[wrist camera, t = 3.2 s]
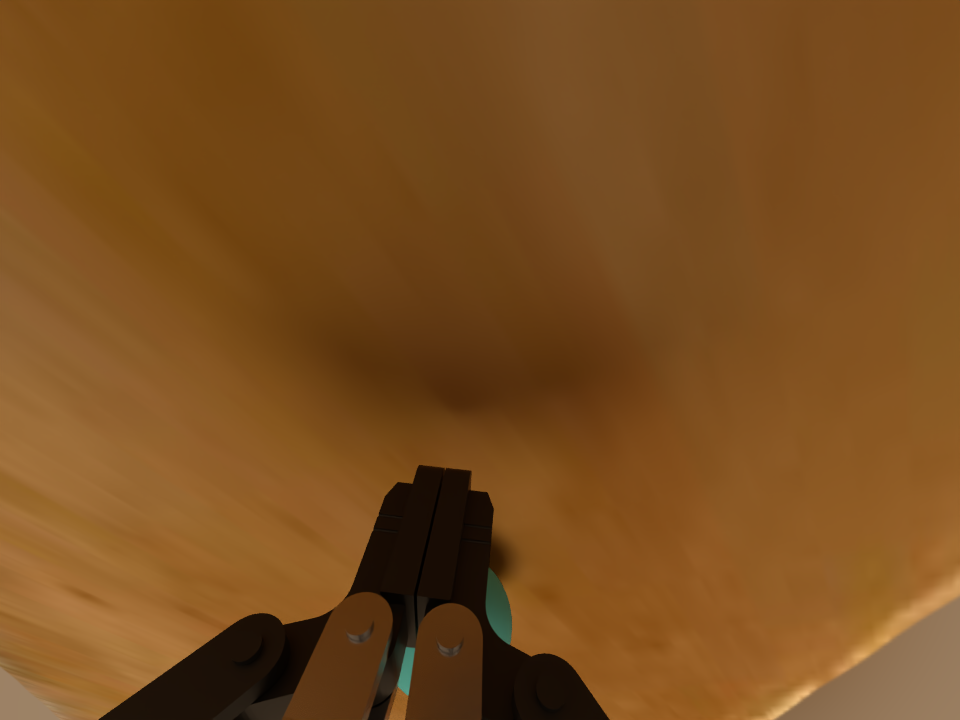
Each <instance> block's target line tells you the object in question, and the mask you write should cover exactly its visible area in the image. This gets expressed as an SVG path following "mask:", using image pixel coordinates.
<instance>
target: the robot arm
mask: <svg viewBox="0 0 960 720" xmlns="http://www.w3.org/2000/svg"><path fill="white" fill-rule="evenodd" d="M493 511H494V508H493V506H492V503H491V500H490V498H489V495H488V492H480V491H471V471H469V470H460V469H451V468H446V470H445V468H441V467H432V466H423V465H419V466H418V468H417V471H416V475H415V478H414V481H413V484H409V483H401V482H398V483H397V484H396V485H395V486H394V487H393V488H392V489H391V490H390V491H389V493H388V494H387V495H386V496H385V498H384V501H383V503H382V506H381V509H380V512H379V516H378V517H377V520H376V523H375V525H374V529H373V531H372V533H371V536H370V539H369V542H368V544H367V547H366V550H365V553H364V555H363V558H362V561H361V564H360V566H359V569H358V572H357V574H356V577H355V580H354V583H353V585H352V587H351V590H350V591H349V593H348V595H347V596H346V597H345V599H344V600H343V601H342V602H340V603H339V604H338V606H337V607H335V608H334V609H333V610H331V611H330V612H328V613H326V614H324V615H322V616H319V617H316V618H312V619H308V620H303V621H299V622H294V623H290V624H285V625H282V623H281V621H280V620H279V619H278V618H276V617H275V616H273V615H271V614H266V613H259V614H253V615H250V616H247V617H245V618H243V619H240V620H239V621H237V622H236V623H234V624H233V625H231V626H230V627H228V628H227V629H226V630H224V631H223V632H221V633H220V634H219V635H217V636H216V637H214V638H213V639H212V640H210V641H209V642H207V643H206V644H204V645H203V646H202V647H200V648H199V649H197V650H196V651H195V652H193V653H192V654H190V655H189V656H188V657H186V658H185V659H183V660H182V661H180V662H179V663H178V664H176V665H175V666H173V667H172V668H171V669H169V670H168V671H166V672H165V673H164V674H162V675H161V676H159V677H158V678H156V679H155V680H154V681H152V682H151V683H149V684H148V685H147V686H145V687H144V688H142V689H141V690H139V691H138V692H137V693H135V694H134V695H132V696H131V697H130V698H128V699H127V700H125V701H124V702H123V703H121V704H120V705H118V706H117V707H115V708H114V709H113V710H111V711H110V712H108V713H107V714H106V715H104V716H103V717H101V718H100V719H99V720H388V719H389V716H390V713H391V709H392V706H393V702H394V699H395V695H396V692H397V688H398V684H399V677H400V673H401V668H402V664H403V659H404V655H405V650H406V647H410V648H415V653H414V660H413V667H412V674H411V681H410V689H409V696H408V703H407V710H406V717H405V720H609V718H608V717H607V715H606V714H605V713H604V711H603V710H602V708H601V707H600V705H599V704H598V703H597V701H596V700H595V698H594V697H593V695H592V694H591V692H590V691H589V690H588V688H587V687H586V685H585V684H584V682H583V681H582V680H581V678H580V677H579V675H578V674H577V672H576V671H575V670H574V669H573V667H572V666H571V665H570V664H569V663H567V662H566V661H565V660H563V659H562V658H560V657H558V656H556V655H552V654H545V653H544V654H537V655H534V656H532V657H531V656H529V655H527V654H525V653H524V652H522V651H520V650H518V649H516V648H515V647H513V646H511V645H509V644H508V643H506V642H505V641H503V640H502V639H501V638H500V637H499V636H498V635H497V634H496V633H495V631H494V630H493V628H492V627H491V625H490V623H489V620H488V617H487V614H486V592H487V581H488V569H489V558H490V546H491V534H492V523H493Z"/></svg>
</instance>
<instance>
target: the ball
mask: <svg viewBox="0 0 960 720" xmlns="http://www.w3.org/2000/svg"><path fill="white" fill-rule="evenodd" d="M486 614H487V617H488V620H489V623H490V625H491V627H492V628H493V630H494V631H495V633H496V634H497V635H498V636H499V637H500V638H501V639H502V640H503V641H505V642H506V643H508V644H509V645H510V642H511V633H512V616H511V610H510V604H509V601H508V597H507V595H506V592H505V590H504V588H503V585H502V584H501V582H500V580H499V579H498V577H497V576H496V574H495V573H494V572H493V571H492V570H491V569H490V568H489V569H488V581H487V592H486ZM414 653H415V648H410V647H406V650H405V655H404V659H403V664H402V668H401V673H400V677H399V684H398V687H399V688H400V689H401V690H402V691H403V692H404V693H405V694H407V695H408V696H409V689H410V681H411V674H412V667H413V660H414Z"/></svg>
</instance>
